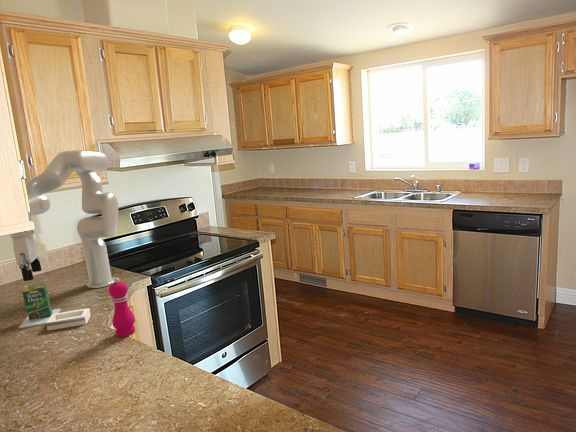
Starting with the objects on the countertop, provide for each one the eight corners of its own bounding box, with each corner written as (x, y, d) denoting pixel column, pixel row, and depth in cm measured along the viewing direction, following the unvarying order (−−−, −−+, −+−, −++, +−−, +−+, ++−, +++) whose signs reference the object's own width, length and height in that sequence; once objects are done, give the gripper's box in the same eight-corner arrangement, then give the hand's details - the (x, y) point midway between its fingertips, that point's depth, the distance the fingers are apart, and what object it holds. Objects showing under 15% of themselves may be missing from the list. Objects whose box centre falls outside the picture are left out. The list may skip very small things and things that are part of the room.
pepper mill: (129, 338, 144) (119, 281, 140) (110, 338, 146) (100, 281, 142) (141, 328, 151) (131, 274, 147) (122, 328, 153) (112, 274, 149)
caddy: (53, 321, 163) (52, 314, 163) (90, 315, 166) (89, 308, 166) (46, 331, 155) (45, 324, 154) (85, 325, 158) (84, 317, 157)
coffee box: (27, 320, 165) (20, 288, 162) (30, 317, 168) (23, 285, 165) (50, 316, 166) (43, 284, 164) (52, 313, 169) (46, 282, 166)
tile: (30, 314, 172) (30, 313, 172) (60, 309, 174) (60, 308, 174) (18, 328, 160) (18, 327, 159) (51, 323, 162) (51, 321, 162)
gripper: (19, 228, 167) (29, 269, 172) (1, 240, 151) (13, 285, 155) (40, 225, 169) (50, 266, 173) (25, 236, 153) (36, 282, 157)
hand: (33, 275), depth 164 cm, fingers open, 9 cm apart
